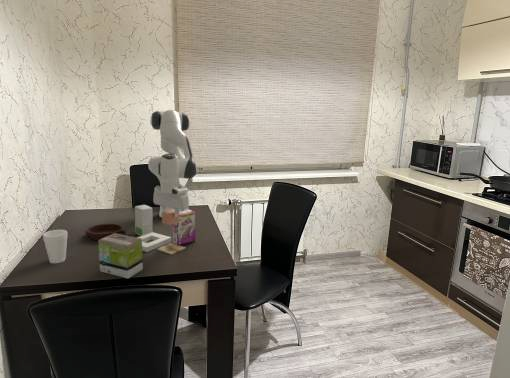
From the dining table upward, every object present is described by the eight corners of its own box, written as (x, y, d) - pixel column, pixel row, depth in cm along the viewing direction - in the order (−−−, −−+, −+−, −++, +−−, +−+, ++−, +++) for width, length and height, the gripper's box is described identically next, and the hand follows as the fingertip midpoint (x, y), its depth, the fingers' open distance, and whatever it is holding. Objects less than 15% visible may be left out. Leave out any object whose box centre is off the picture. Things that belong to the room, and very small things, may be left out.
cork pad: (171, 244, 186) (171, 243, 186) (185, 248, 181) (185, 247, 181) (156, 250, 178) (156, 249, 178) (171, 254, 173) (171, 253, 173)
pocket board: (152, 236, 196) (152, 232, 196) (171, 241, 190) (171, 237, 189) (127, 245, 182) (127, 241, 182) (146, 252, 175) (146, 247, 175)
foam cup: (66, 263, 160) (64, 236, 157) (43, 265, 157) (40, 237, 154) (71, 255, 169) (68, 229, 166) (48, 257, 166) (46, 230, 163)
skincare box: (134, 233, 201) (133, 206, 197) (145, 230, 206) (144, 204, 202) (142, 237, 195) (141, 209, 192) (153, 234, 200) (152, 207, 197)
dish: (120, 243, 186) (120, 234, 185) (77, 242, 186) (76, 233, 184) (131, 232, 203) (131, 223, 202) (92, 231, 203) (91, 222, 201)
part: (172, 219, 181) (172, 209, 180) (179, 221, 178) (179, 210, 177) (162, 223, 175) (161, 212, 174) (169, 225, 173) (168, 214, 171)
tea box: (99, 272, 152) (97, 239, 149) (116, 263, 162) (114, 232, 158) (128, 279, 147) (126, 245, 144) (143, 269, 157) (142, 237, 153)
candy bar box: (177, 246, 184) (177, 215, 180) (172, 243, 187) (172, 213, 184) (196, 241, 192) (195, 211, 188) (190, 238, 195) (190, 209, 192)
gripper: (149, 186, 176) (150, 213, 178) (181, 192, 165) (181, 220, 168) (159, 184, 181) (160, 210, 184) (190, 189, 171) (190, 217, 174)
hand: (170, 215), depth 176 cm, fingers closed on part, 4 cm apart
